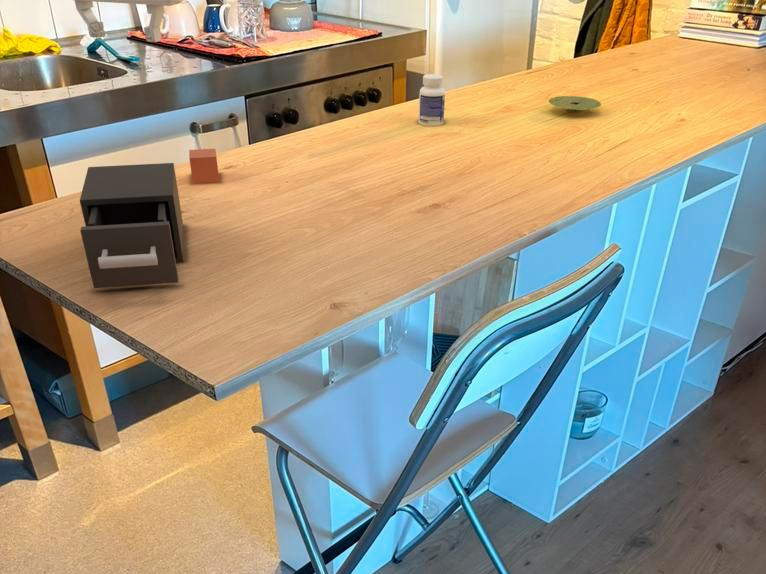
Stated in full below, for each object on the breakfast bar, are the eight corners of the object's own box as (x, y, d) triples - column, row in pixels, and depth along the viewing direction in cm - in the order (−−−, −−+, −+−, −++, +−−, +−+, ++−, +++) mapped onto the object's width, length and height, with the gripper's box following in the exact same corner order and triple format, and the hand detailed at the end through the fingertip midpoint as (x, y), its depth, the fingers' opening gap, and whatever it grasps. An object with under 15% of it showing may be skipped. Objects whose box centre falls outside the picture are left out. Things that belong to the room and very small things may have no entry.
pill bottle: (446, 126, 168) (449, 78, 162) (422, 127, 167) (423, 79, 161) (439, 119, 172) (441, 72, 166) (415, 120, 171) (417, 73, 165)
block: (193, 185, 139) (189, 157, 137) (192, 176, 143) (189, 149, 140) (219, 183, 140) (216, 156, 137) (218, 175, 143) (215, 148, 141)
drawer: (178, 296, 105) (168, 237, 100) (91, 302, 103) (76, 243, 98) (178, 245, 117) (169, 190, 112) (100, 250, 116) (88, 195, 111)
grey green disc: (551, 102, 183) (552, 93, 181) (602, 107, 180) (603, 97, 179) (543, 116, 174) (545, 106, 173) (596, 121, 172) (598, 111, 171)
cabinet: (183, 263, 115) (173, 194, 109) (95, 269, 113) (79, 200, 107) (183, 227, 125) (173, 162, 119) (102, 232, 123) (88, 166, 117)
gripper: (21, -81, 107) (51, 39, 116) (155, -77, 101) (175, 48, 110) (52, -85, 111) (78, 30, 120) (181, -82, 106) (198, 38, 115)
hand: (125, 39), depth 115 cm, fingers open, 8 cm apart
